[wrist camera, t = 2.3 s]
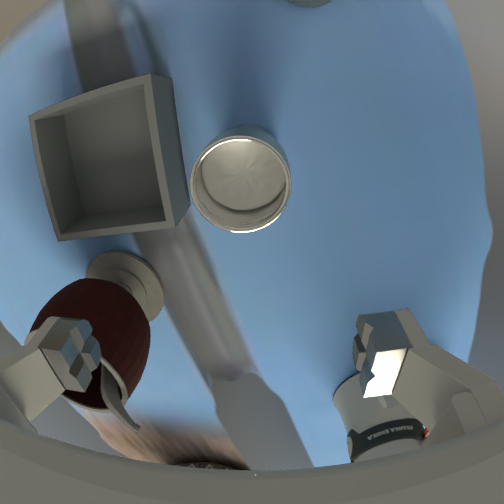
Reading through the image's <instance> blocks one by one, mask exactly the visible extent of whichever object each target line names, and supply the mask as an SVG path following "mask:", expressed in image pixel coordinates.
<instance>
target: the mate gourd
mask: <svg viewBox="0 0 504 504" xmlns="http://www.w3.org/2000/svg"><path fill="white" fill-rule="evenodd" d="M164 295H165V294H164V289H163V285H162V283H161V280H160V278H159V277H158V275H157V273H156V272H155V271H154V270H153V269H152V267H151V266H150V265H149V264H147V263H146V262H145V261H144V260H142V259H141V258H139V257H137V256H136V255H133V254H131V253H128V252H124V251H107V252H104V253H102V254H100V255H98V256H97V257H96V258H95V259H94V260H93V261H92V262H91V264H90V265H89V267H88V270H87V274H86V278H84V279H79V280H77V281H75V282H73V283H71V284H69V285H67V286H65V287H64V288H63V289H62V290H60V291H59V292H58V293H56V294H55V295H54V296H53V297H52V298H51V299H50V300H49V301H48V303H47V304H46V305H45V306H44V307H43V308H42V310H41V311H40V312H39V314H38V316H37V318H36V320H35V322H34V323H33V325H32V328H31V330H30V332H29V334H28V335H27V337H26V339H25V345H24V346H26V345H27V344H28V343H29V341H30V340H31V339H32V337H33V336H34V335H35V333H36V332H37V331H38V329H39V328H40V327H41V325H42V324H43V323H44V322H45V320H46V319H47V318H49V317H52V316H53V317H61V318H62V317H65V318H75V319H85V320H87V321H89V323H90V325H91V327H92V329H93V330H92V333H91V335H92V336H93V337H94V338H96V339H97V341H98V343H99V345H100V349H101V359H100V363H99V365H98V367H97V368H96V369H95V370H93V371H92V372H91V375H92V379H91V381H90V383H89V385H88V387H87V389H86V391H85V392H79V391H73V390H67V389H65V391H64V392H63V393H62V394H60V396H61V397H63V398H64V399H66V400H67V401H69V402H71V403H73V404H75V405H77V406H79V407H82V408H85V409H88V410H91V411H95V412H103V413H109V412H112V413H113V414H114V415H115V416H116V417H118V418H119V419H120V420H121V421H122V422H123V423H124V424H125V425H127V426H128V427H129V428H131V429H132V430H133V431H135V432H138V430H139V428H140V427H141V426H139V425H138V424H136V423H135V422H134V421H133V420H132V419H131V418H130V417H129V415H128V414H127V412H126V410H125V409H124V406H125V404H126V402H127V400H128V398H129V397H130V396H131V394H132V393H133V391H134V389H135V388H136V386H137V384H138V383H139V381H140V379H141V376H142V374H143V371H144V368H145V366H146V362H147V358H148V353H149V348H150V326H149V322H150V321H152V320H154V319H155V318H156V317H157V316H158V315H159V313H160V311H161V310H162V307H163V304H164Z"/></svg>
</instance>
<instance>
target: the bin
mask: <svg viewBox="0 0 504 504" xmlns="http://www.w3.org/2000/svg"><path fill="white" fill-rule="evenodd" d="M29 123H30V129H31V135H32V141H33V147H34V152H35V157H36V162H37V167H38V171H39V176H40V180H41V184H42V188H43V192H44V196H45V200H46V203H47V207H48V211H49V214H50V218H51V221H52V224H53V228H54V231H55V234H56V237H57V240H58V242H59V241H66V240H74V239H82V238H90V237H98V236H107V235H115V234H124V233H133V232H142V231H151V230H161V229H170V228H176V226H177V225H178V223H179V222H180V220H181V219H182V217H183V216H184V214H185V213H186V211H187V210H188V208H189V207H190V199H189V193H188V187H187V181H186V175H185V169H184V162H183V156H182V149H181V143H180V136H179V129H178V122H177V114H176V107H175V99H174V91H173V83H172V79H171V78H167V77H163V76H159V75H154V74H147V75H143V76H139V77H135V78H132V79H128V80H124V81H121V82H117V83H114V84H111V85H107V86H104V87H101V88H98V89H95V90H92V91H89V92H86V93H83V94H80V95H78V96H75V97H72V98H70V99H67V100H64V101H62V102H59V103H57V104H54V105H52V106H49V107H47V108H45V109H42V110H40V111H38V112H35V113H33V114H31V115H29Z"/></svg>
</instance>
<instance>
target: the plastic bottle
mask: <svg viewBox="0 0 504 504" xmlns="http://www.w3.org/2000/svg"><path fill="white" fill-rule="evenodd" d="M288 1H289V2H291V3H293V4H295V5H298V6H301V7H319V6H322V5H325V4H327V3H328V2H330V1H332V0H288Z"/></svg>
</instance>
